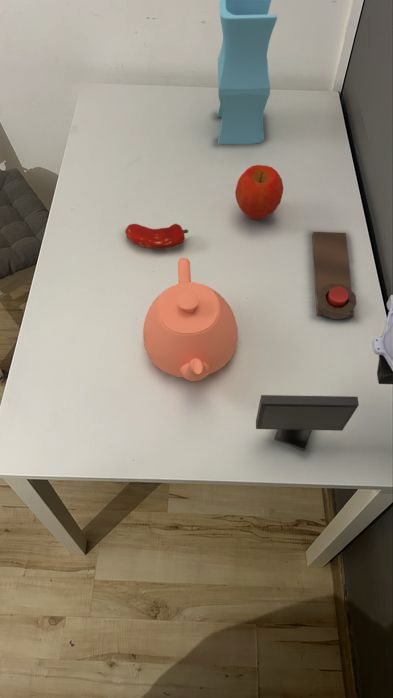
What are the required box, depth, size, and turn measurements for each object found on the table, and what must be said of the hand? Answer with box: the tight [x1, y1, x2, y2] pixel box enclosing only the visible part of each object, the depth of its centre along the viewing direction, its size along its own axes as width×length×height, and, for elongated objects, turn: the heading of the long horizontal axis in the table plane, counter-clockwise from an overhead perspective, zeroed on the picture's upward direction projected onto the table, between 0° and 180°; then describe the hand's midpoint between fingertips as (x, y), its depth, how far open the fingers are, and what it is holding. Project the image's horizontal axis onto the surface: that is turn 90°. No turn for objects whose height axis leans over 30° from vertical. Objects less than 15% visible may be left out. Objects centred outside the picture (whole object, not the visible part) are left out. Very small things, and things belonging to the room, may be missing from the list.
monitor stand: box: [274, 429, 312, 452], centre depth 71 cm, size 5×5×7 cm
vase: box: [217, 0, 278, 145], centre depth 97 cm, size 10×10×25 cm
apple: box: [234, 164, 284, 221], centre depth 91 cm, size 9×8×11 cm
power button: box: [327, 286, 349, 307], centre depth 82 cm, size 3×3×2 cm
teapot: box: [142, 257, 239, 382], centre depth 77 cm, size 22×15×12 cm
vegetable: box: [124, 223, 189, 250], centre depth 92 cm, size 4×5×12 cm
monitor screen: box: [255, 394, 360, 432], centre depth 66 cm, size 1×12×9 cm, turn 89°
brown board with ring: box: [311, 231, 357, 320], centre depth 87 cm, size 19×6×2 cm, turn 176°
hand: (385, 379), depth 67 cm, fingers closed
